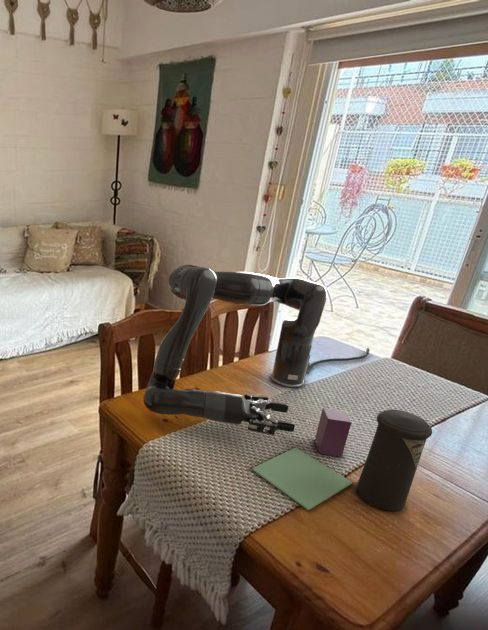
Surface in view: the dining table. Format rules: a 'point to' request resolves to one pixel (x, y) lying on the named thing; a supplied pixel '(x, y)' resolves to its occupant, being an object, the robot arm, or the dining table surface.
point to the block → (332, 432)
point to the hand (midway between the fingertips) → (290, 417)
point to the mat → (302, 478)
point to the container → (393, 459)
